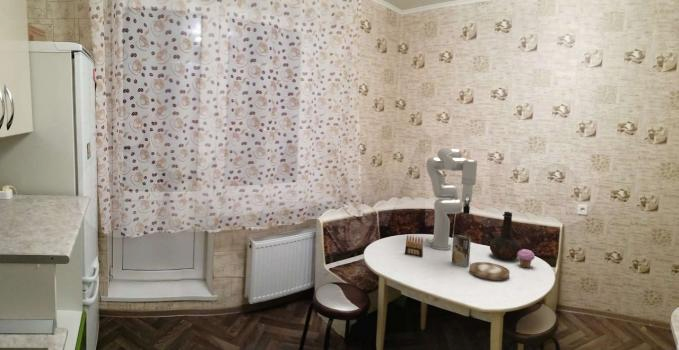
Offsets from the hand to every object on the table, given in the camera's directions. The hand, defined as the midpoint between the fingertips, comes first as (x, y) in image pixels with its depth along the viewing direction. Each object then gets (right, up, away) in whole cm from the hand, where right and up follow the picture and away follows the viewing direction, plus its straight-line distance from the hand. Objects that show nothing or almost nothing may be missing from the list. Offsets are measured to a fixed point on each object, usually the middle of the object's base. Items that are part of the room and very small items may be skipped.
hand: (466, 211), depth 224 cm
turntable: (+9, -32, -10) cm, 35 cm away
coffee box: (-2, -30, +4) cm, 31 cm away
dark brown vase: (+29, -30, +18) cm, 45 cm away
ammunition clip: (-26, -28, +16) cm, 42 cm away
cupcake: (+35, -32, +4) cm, 47 cm away
